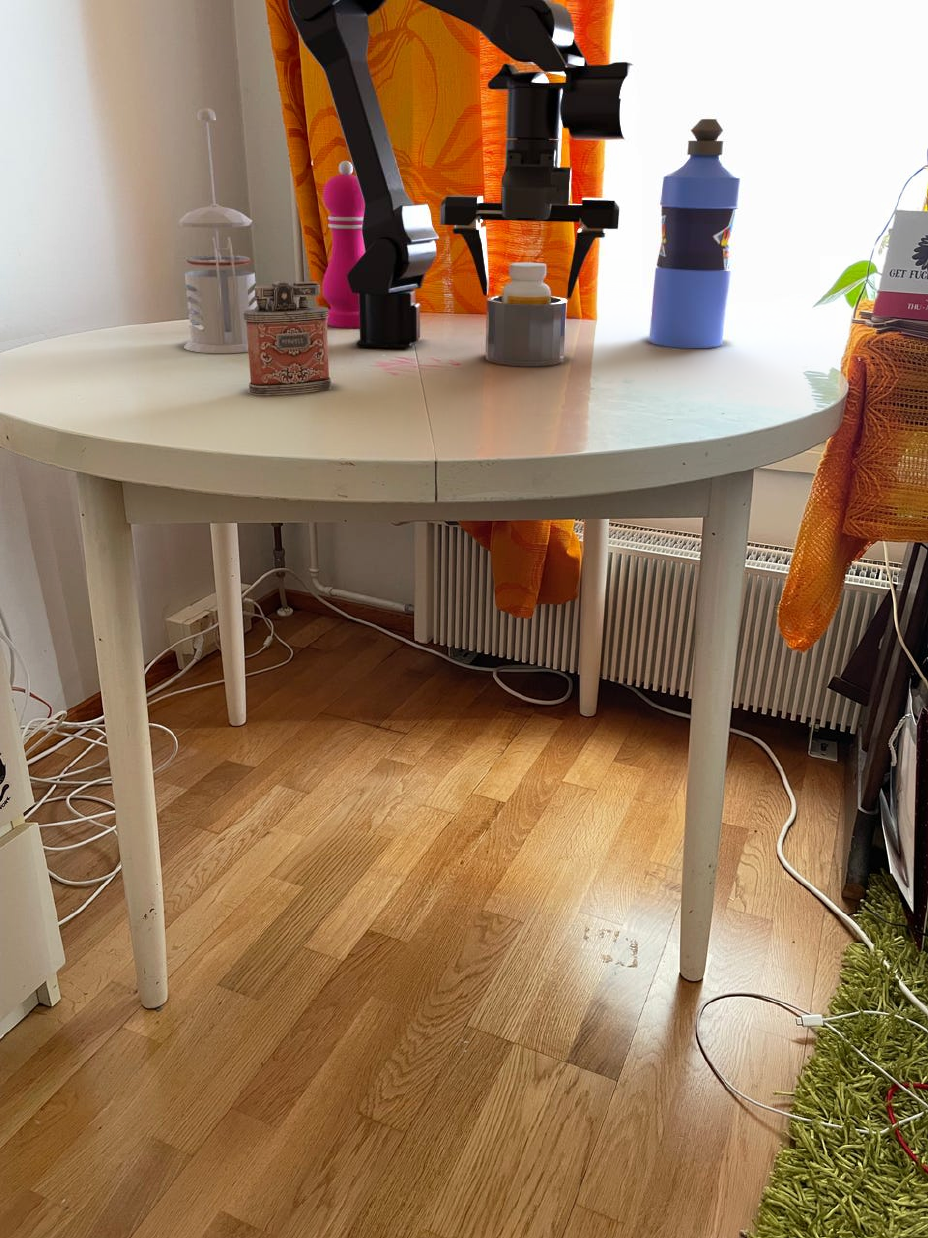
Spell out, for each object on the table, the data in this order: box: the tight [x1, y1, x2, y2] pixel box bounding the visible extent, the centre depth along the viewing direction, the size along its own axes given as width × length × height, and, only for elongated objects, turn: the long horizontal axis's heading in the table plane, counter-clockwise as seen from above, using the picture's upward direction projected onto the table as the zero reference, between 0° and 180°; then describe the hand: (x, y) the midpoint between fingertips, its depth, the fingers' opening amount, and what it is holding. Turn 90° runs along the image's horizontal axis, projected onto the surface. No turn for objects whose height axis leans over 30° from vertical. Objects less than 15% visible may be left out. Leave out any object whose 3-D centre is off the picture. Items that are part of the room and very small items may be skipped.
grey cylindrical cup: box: [485, 294, 568, 368], centre depth 111 cm, size 9×9×6 cm
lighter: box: [243, 280, 332, 396], centre depth 93 cm, size 8×3×10 cm, turn 117°
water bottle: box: [648, 118, 744, 349], centre depth 119 cm, size 9×9×25 cm
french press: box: [177, 107, 258, 354], centre depth 111 cm, size 10×12×25 cm
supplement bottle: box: [501, 262, 552, 304], centre depth 110 cm, size 5×5×10 cm
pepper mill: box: [321, 160, 365, 329], centre depth 129 cm, size 7×7×20 cm
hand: (527, 296), depth 109 cm, fingers open, 9 cm apart
